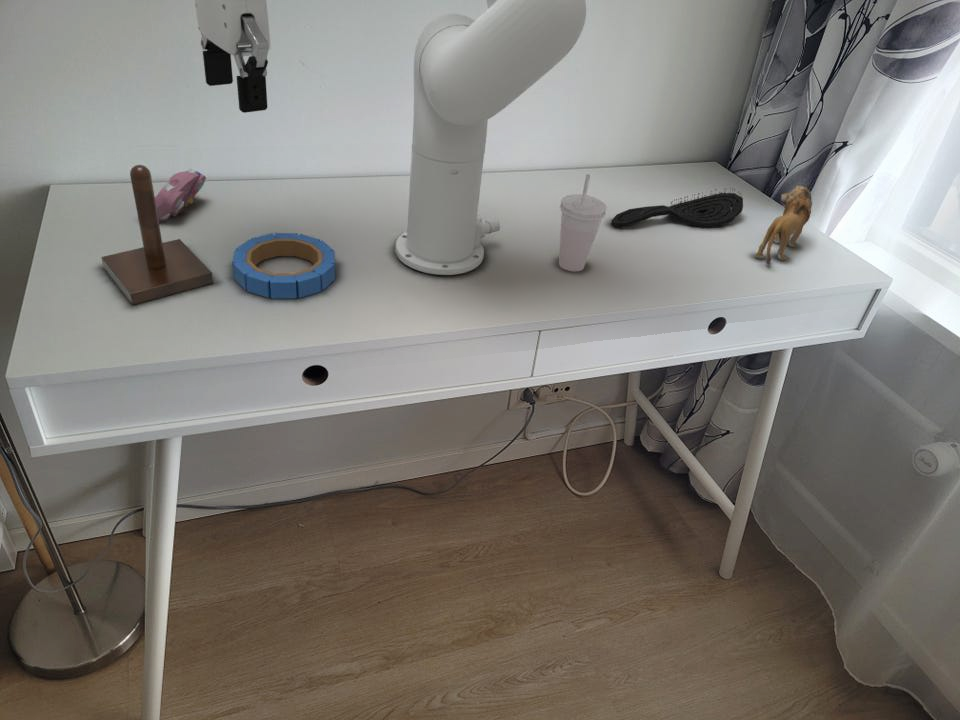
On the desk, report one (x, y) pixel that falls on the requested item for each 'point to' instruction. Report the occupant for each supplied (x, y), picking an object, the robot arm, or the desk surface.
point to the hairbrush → (689, 211)
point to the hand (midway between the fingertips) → (236, 96)
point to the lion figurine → (788, 222)
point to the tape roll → (284, 282)
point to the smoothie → (579, 227)
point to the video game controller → (178, 192)
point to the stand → (154, 254)
